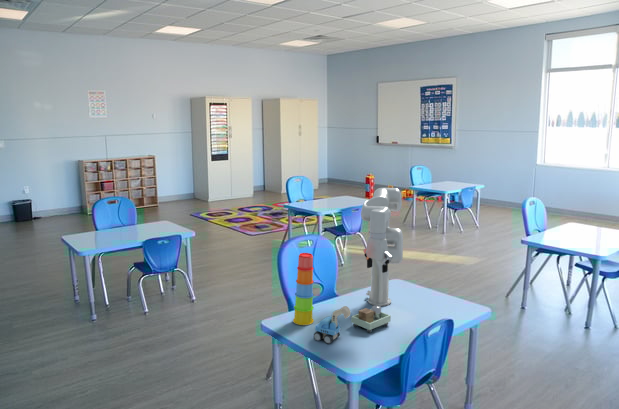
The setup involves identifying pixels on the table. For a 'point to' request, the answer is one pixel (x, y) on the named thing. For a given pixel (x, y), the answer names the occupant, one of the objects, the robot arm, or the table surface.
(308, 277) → the stacking cups
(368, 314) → the walnut block
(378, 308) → the grey metal cylinder
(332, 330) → the toy excavator
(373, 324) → the parts cart
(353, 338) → the table surface
